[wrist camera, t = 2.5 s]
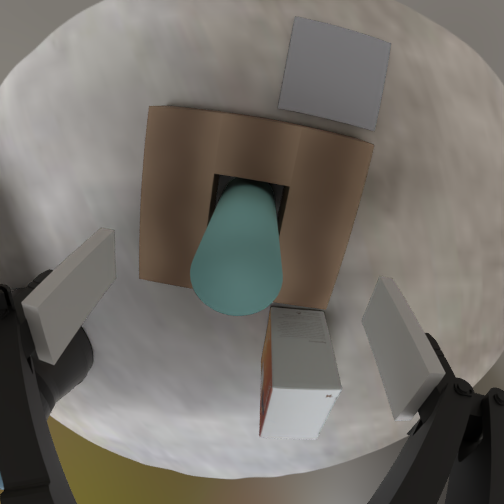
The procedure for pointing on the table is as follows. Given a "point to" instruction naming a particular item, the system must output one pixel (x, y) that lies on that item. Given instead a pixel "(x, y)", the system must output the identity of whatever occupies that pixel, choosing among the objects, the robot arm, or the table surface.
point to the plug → (240, 251)
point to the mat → (334, 73)
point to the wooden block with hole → (255, 168)
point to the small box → (297, 375)
